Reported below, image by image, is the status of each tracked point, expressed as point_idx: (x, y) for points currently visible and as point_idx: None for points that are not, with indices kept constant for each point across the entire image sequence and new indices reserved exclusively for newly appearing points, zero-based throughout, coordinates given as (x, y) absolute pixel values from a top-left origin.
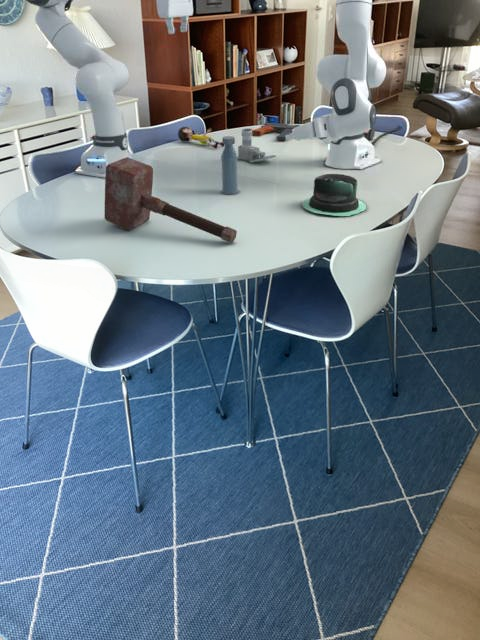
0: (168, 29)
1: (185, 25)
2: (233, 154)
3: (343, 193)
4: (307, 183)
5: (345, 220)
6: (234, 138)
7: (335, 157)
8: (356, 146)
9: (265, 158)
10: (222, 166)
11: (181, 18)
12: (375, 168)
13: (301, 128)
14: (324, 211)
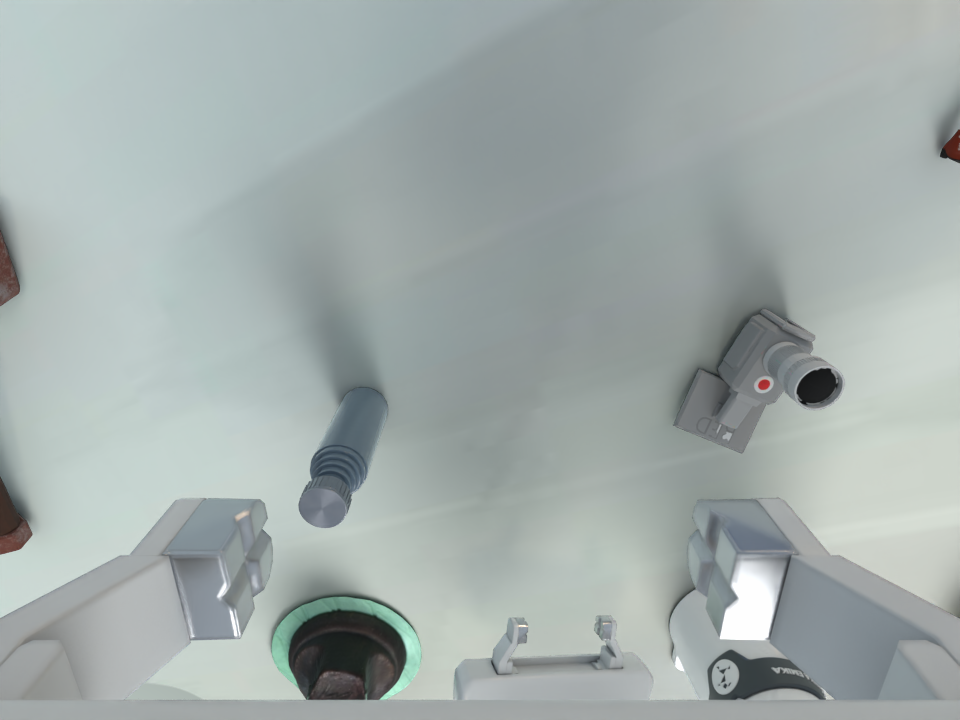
0: (150, 540)
1: (779, 639)
2: None
3: None
4: (511, 571)
5: (269, 680)
6: (334, 523)
7: (692, 630)
8: None
9: (695, 433)
10: (325, 435)
11: (911, 693)
12: (691, 687)
13: None
14: (289, 647)
